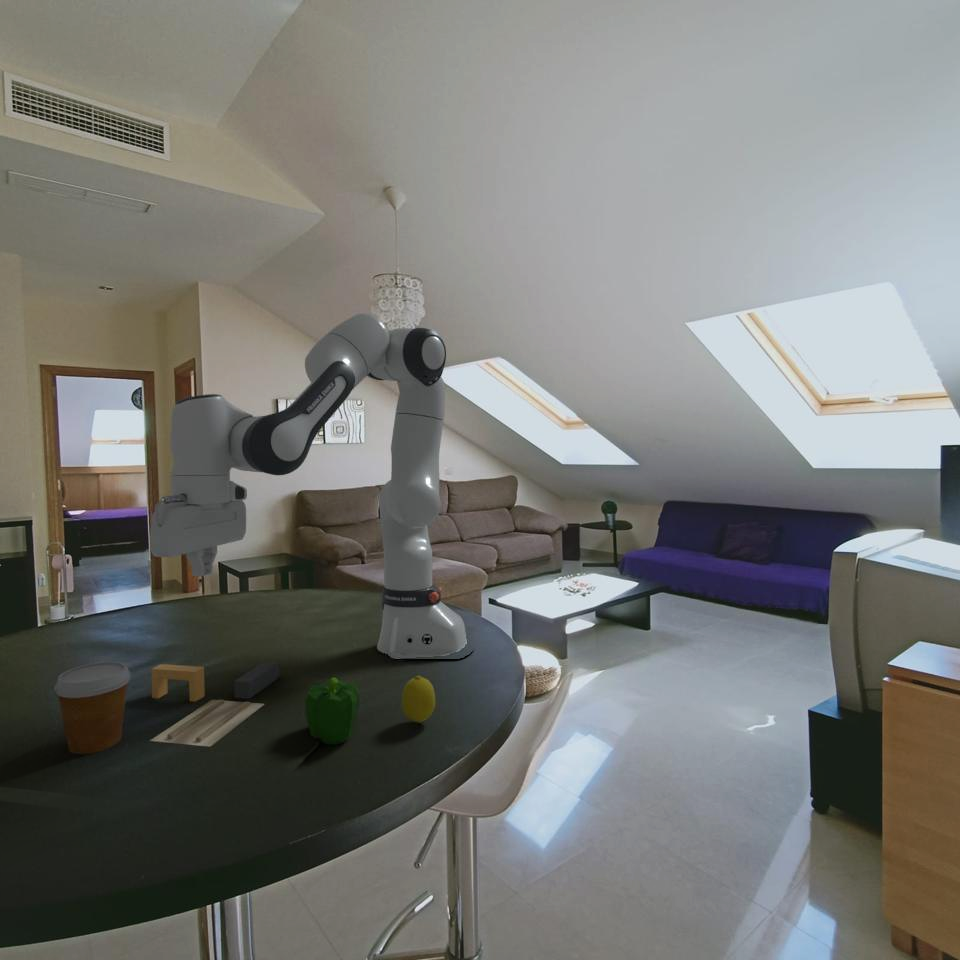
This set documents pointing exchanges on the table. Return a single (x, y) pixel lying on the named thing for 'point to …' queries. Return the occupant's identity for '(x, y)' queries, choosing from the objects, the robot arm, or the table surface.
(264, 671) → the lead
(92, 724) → the disposable coffee cup
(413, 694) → the lemon
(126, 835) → the table surface
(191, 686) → the wooden arch block
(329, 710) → the bell pepper
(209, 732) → the board
